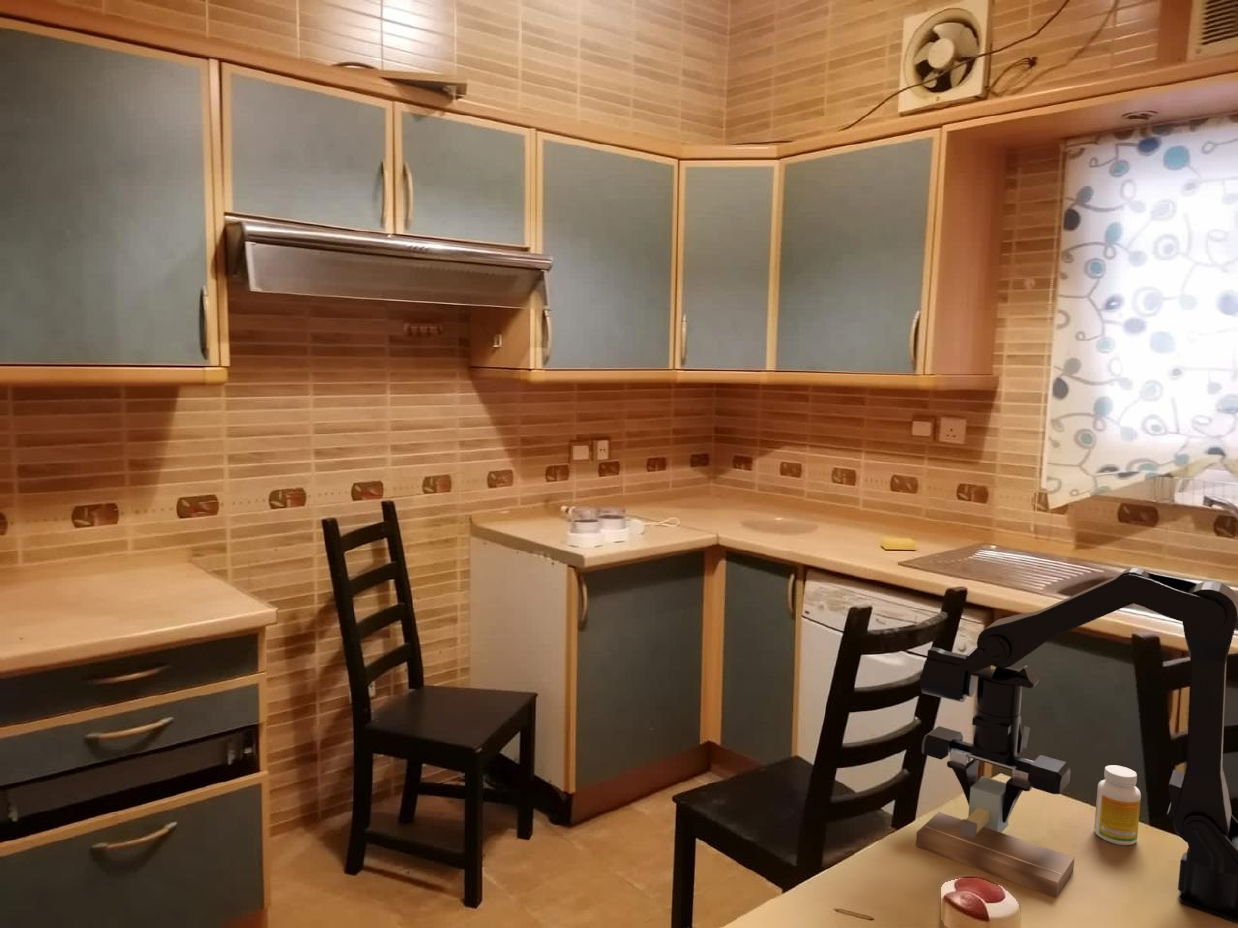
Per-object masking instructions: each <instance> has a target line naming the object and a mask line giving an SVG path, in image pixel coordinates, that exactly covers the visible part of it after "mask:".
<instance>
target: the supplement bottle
mask: <svg viewBox="0 0 1238 928" xmlns="http://www.w3.org/2000/svg"><path fill="white" fill-rule="evenodd" d="M1103 773H1104V774H1103V776H1104V777H1103V778H1104V779H1103V780H1100V781H1099V782H1098V784H1097V791H1096V792H1097V793H1096V804H1095V814H1094V815H1095V816H1094V825H1093V827H1094V833H1095V835H1097V836H1098V837H1099V838H1101V839H1102V840H1104V841H1106V842H1108V843H1112V844H1114V845H1118V846H1119V845H1121V846H1130V845H1134V844H1135V843H1137V841H1138V834H1139V823H1140V822H1139V821H1140V811H1141V801H1142V800H1141V799H1142V794H1141V791H1140V789H1139V788H1138V787H1137V786H1136V785H1137V780H1138V775H1137V772H1136V771H1134V770H1132V769H1131V768H1128V767H1125V766H1122V765H1115V764H1113V765H1112V764H1111V765H1109V764H1108V765H1106V766H1105V767H1104V772H1103Z"/></svg>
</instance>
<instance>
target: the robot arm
mask: <svg viewBox="0 0 1238 928" xmlns="http://www.w3.org/2000/svg"><path fill="white" fill-rule="evenodd" d="M1130 605H1136V606H1141V607H1143V608H1144V609H1145V608H1146V609H1147V610H1150V611H1151V612H1155V613H1157V614H1159V615H1161V616H1164V617H1166V618H1168V619H1173V620H1175V621H1178V622H1182V629H1183V633H1184V639H1185V643H1186V646H1187V650H1188V653H1189V659H1190V660H1189V661H1190V666H1189V670H1190V671H1189V693H1188V694H1189V695H1188V696H1189V697H1188V717H1187V718H1188V720H1187V721H1188V723H1187V746H1186V747H1187V750H1186V768H1185V772H1183V771H1181V770H1177V769H1173V770H1172V774H1171V776H1170V779H1169V783H1168V794H1169V798H1170V799H1169V801H1170V804H1169V806H1168V810H1167V812H1166V818H1173V819H1172V823H1173V829H1174V831H1175V833H1176V834H1177V835H1179V837H1180V838H1181V839H1182V840H1183V841H1184V842H1185V843H1187V846H1188V847H1187V850H1186V851H1185V852H1184V853H1183V854H1182V856H1181V857H1180V858H1181V859H1180V862H1179V863H1180V864H1179V874H1178V882H1177V884H1178V885H1177V890H1178V891H1179V892H1180V893H1181V894H1180V896H1179V902H1180V903H1181V904H1183V905H1186V906H1189V907H1192V908H1193V909H1194V908H1195V909H1198V910H1200V911H1203V912H1207V913H1210V914H1211V915H1212V914H1213V915H1215V916H1218V917H1221V918H1224V919H1227V920H1230V921H1233V922H1234V923H1235V922H1236V923H1238V820H1237V819H1236V817H1234V815H1233V814H1232V806H1231V800H1230V794H1229V788H1228V784H1227V781H1226V776H1225V773H1224V768H1223V755H1224V753H1223V752H1224V733H1225V732H1224V731H1225V711H1226V710H1225V708H1226V707H1225V706H1226V705H1225V704H1226V685H1227V684H1226V683H1227V681H1226V680H1227V660H1228V656H1229V652H1230V649H1231V645H1232V640H1233V637H1234V633H1235V630H1236V626H1237V622H1238V594H1237V593H1236V592H1235V591H1234V590H1233V589H1232V588H1231V587H1230V586H1228V585H1226V584H1224V583H1222V582H1219V581H1213V580H1212V581H1211V580H1209V581H1208V580H1207V581H1202V582H1199V583H1198V582H1193V581H1191V580H1187V579H1183V578H1179V577H1173V576H1169V575H1163V574H1158V573H1154V572H1150V571H1147V570H1145V569H1142V568H1139V567H1130V568H1127V569H1125V570H1124V571H1122V572H1121V573H1120V574H1119V575H1116V576H1114V577H1112V578H1110V579H1107V580H1105V581H1103V582H1101V583H1098V584H1096V585H1093V586H1092V587H1089V588H1086V589H1085V590H1083V591H1081V592H1078V593H1075V594H1074V595H1072V596H1069V597H1067V598H1065V599H1063V600H1061V601H1058V602H1056V603H1054V604H1052V605H1049V606H1047V607H1045V608H1043V609H1040V610H1039V609H1038V610H1036V611H1030V612H1025V613H1019V614H1014V615H1011V616H1007V617H1002V618H999V619H997V620H995V621H994V622H993V623H991V624H990V625H989V626H987V627H986V628H985V629H983V630H982V631H981V632H980V633H979V634H978V635H977V636H978V637H977V640H976V647H974V648H973V649H972V650H971V651H969V652H968V653H967V654H963V653H958V652H954V651H953V652H952V651H948V650H945V649H943V648H940V647H936V646H932V647H931V648H930V649H928V650H927V653H926V655H927V656H926V659H925V661H924V664H923V666H922V667H923V668H922V671H921V673H920V676H919V677H920V678H919V687H920V691H921V693H922V694H926V695H930V696H934V697H938V698H943V699H946V700H951V701H954V702H959V703H964V702H965V700H966V699H967V697H969V698H973V696H974V694H975V691H976V702H975V713H974V714H975V715H974V716H973V717H972V723H971V725H973V726H974V727H973V728H974V729H973V738H972V739H973V741H972V743H969V742H967V741H963V740H964V736H963V733H962V732H961V731H957V730H953V729H950V728H946V727H943V726H937V727H935V728H934V729H932V730H931V731H930V732H929V733H927V734H926V735H924V736H923V738H922V743H921V754H923V755H924V756H927V757H931V758H935V759H937V760H943V759H945V758H947V757H948V756H949V759H948V761H947V762H946V766H947V768H949V769H952V770H953V773H954V775H955V777H956V779H957V780H958V783H959V784H960V786H961V789H962V792H963V794H964V796H965V799H966V801H967V805H968V806H969V802H970V789H971V786H972V785H973V784H975V783H976V782H977V781H978V780H979V778H978V775H979V774H978V772H979V771H978V770H979V766H980V762H983V763H986V764H990V765H993V766H997V767H999V768H1003V769H1006V770H1009V771H1010V770H1011V771H1012V772H1011V774H1012V776H1011V777H1010V778H1009V779H1008V780H1006V782H1005V783H1006V788H1005V796H1004V803H1003V811H1002V819H1003V822H1004V823H1006V822H1007V820H1008V818H1010V816H1011V815H1012V812H1013V810H1014V808H1015V806H1016V804H1017V802H1018V800H1019V798H1020V796H1021V794H1022V792H1023V791H1024V792H1031V790H1032V789H1035V790H1039V791H1042V792H1045V793H1048V794H1052V795H1060V794H1061V793H1062V792H1063V790H1064V789H1065V788H1066V787H1067V785H1069V783H1070V780H1071V779H1070V778H1071V772H1072V771H1071V768H1070V766H1069V764H1068V763H1067V762H1066V761H1063V760H1059V759H1056V758H1052V757H1049V756H1046V755H1042V754H1039V756H1038V757H1036V759H1035V760H1031V759H1027V758H1022V757H1018V755H1017V754H1021V753H1022V752H1023V750H1027V744H1028V740H1029V734H1030V730H1031V728H1030V727H1029V726H1025V725H1022V722H1023V721H1022V716H1021V705H1022V694H1023V693H1022V692H1023V688H1027V689H1033V688H1035V686H1036V685H1037V684H1038V683H1039V681H1040V678H1039V677H1038V676H1037V675H1036V674H1035V673H1033V671H1031V669H1030V667H1029V665H1024V666H1023V667H1022V668H1020V669H1018V668H1017V669H1016V668H1011V666H1014V664H1016V663H1018V662H1019V661H1021V660H1022V659H1024V658H1025V657H1027V656H1028V655H1029V654H1031V653H1032V652H1034V651H1035V650H1037V649H1038V648H1039V647H1041V646H1042V645H1044V644H1045V643H1047V642H1048V641H1049V640H1051V639H1053V638H1056V637H1057V636H1060V635H1062V634H1064V633H1068V632H1069V631H1071V630H1074V629H1076V628H1079V627H1081V626H1083V625H1085V624H1088V623H1090V622H1093V621H1095V620H1098V619H1099V618H1102V617H1104V616H1107V615H1109V614H1111V613H1113V612H1116V611H1119V610H1121V609H1123V608H1125V607H1128V606H1130ZM991 666H992V667H995V669H994V668H989V667H991ZM976 686H977V687H976ZM1008 821H1009V820H1008Z"/></svg>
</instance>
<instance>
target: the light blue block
mask: <svg viewBox="0 0 1238 928" xmlns="http://www.w3.org/2000/svg"><path fill="white" fill-rule="evenodd" d="M1005 788H1006V782H1003V781H1000V780H996V779H993V778H990V777H986V776H983V775H982V776H981V777H980V778H978V781H977V782H976V783H975V784H973V785H972V786H971V789H970V802H969V805H968V816H967V817H966V818H965V819H964V818H963V819H962V822H961V834H963V835H965V836H968V837H971V838H975V837H976V834H977V833H978V832H979V831H980V830H981V829H982V828H983V827H985V828H988V829H991V830H994V831H997V832H1000V833H1003V832H1004V831H1005V830H1006V828H1007V827H1008V826H1009V818H1010V817H1009V818H1008V820H1007V822H1006V823H1004V822H1003V819H1002V811H1003V803H1004V796H1005Z"/></svg>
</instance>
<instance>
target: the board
mask: <svg viewBox="0 0 1238 928" xmlns="http://www.w3.org/2000/svg"><path fill="white" fill-rule="evenodd" d="M962 820H963V819H962V818H958V817H956V816H952V815H950V814H946V813H944V812H941V811H938V812H937V813H935V814H934V815H933V816H932V817H931V818H930V819H929V820H928V821H927V822H926V823H925V824H924V825H922V827H921V828H920V829H918V830H917V831H916V836H915V837H916V838H915V847H917V848H920V849H923V850H926V851H928V852H930V853H934V854H936V855H939V856H942V857H945V858H948V859H949V860H953V861H955V862H958V863H961V864H962V865H963V864H964V865H966V866H969V867H972V868H975V869H977V870H979V871H982V872H985V873H988V874H991V875H993V876H996V877H998V878H1000V879H1004V880H1006V881H1010V882H1013V883H1015V884H1018V885H1020V886H1024V887H1026V888H1029V889H1031V890H1034V891H1037V892H1039V893H1042V894H1045V895H1048V896H1050V897H1052V898H1057V897H1058V896H1059V895H1060V893H1061V891H1062V890H1063V888H1064V887H1065V885H1066V884H1067V882H1068V881H1069V879H1070V878H1071V876H1072V875H1073V873H1074V867H1075V857H1074V856H1071V855H1068V854H1065V853H1062V852H1059V851H1056V850H1053V849H1051V848H1048V847H1044V846H1041V845H1038V844H1035V843H1032V842H1029V841H1026V840H1023V839H1020V838H1018V837H1014V836H1012V835H1009V834H1005V833H1003V832H1002V833H1000V832H997V831H994V830H991V829H988V828H985V827H983V828H982V829H981V830H980V831H979V832H978V833H977V834H976V837H975V838H971V837H968V836H965V835H963V834H961V822H962Z"/></svg>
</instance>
